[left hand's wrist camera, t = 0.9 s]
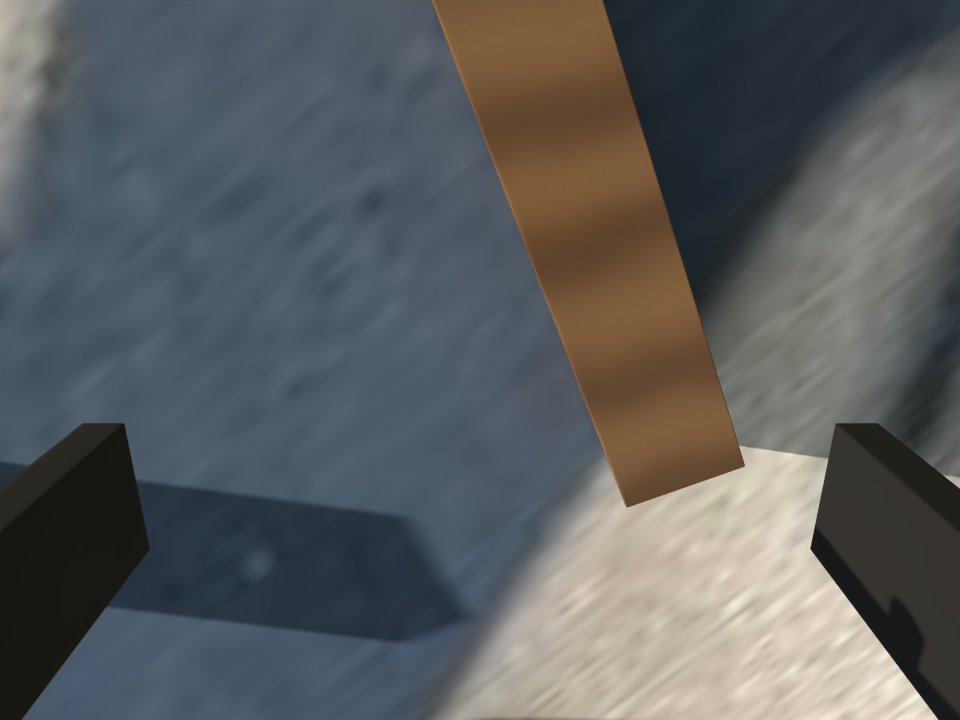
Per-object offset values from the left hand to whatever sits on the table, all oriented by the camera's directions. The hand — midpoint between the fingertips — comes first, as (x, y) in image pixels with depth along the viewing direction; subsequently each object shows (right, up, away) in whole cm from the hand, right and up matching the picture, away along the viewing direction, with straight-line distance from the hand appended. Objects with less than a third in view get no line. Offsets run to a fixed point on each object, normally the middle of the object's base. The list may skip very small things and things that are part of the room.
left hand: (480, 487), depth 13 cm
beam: (-4, +28, +12) cm, 30 cm away
